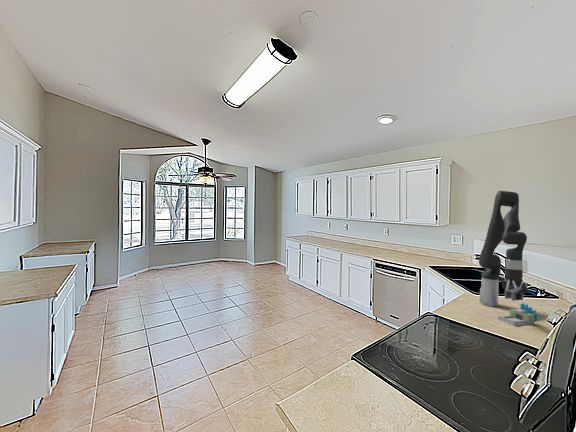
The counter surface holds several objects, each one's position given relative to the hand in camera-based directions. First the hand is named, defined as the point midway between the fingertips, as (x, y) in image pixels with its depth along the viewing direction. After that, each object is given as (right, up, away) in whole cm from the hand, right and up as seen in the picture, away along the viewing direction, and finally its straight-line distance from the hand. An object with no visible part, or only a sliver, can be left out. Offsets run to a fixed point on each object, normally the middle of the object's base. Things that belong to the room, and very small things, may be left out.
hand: (513, 298), depth 156 cm
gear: (+14, -13, +6) cm, 21 cm away
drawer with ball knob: (+1, -13, +1) cm, 13 cm away
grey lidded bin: (0, 0, 0) cm, 0 cm away
